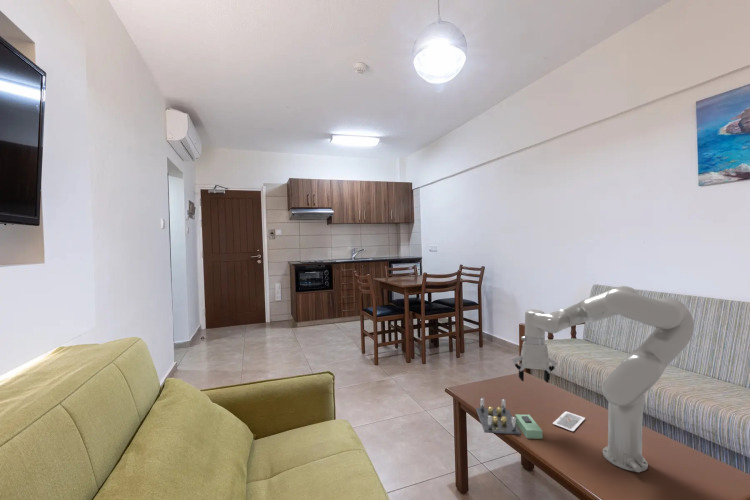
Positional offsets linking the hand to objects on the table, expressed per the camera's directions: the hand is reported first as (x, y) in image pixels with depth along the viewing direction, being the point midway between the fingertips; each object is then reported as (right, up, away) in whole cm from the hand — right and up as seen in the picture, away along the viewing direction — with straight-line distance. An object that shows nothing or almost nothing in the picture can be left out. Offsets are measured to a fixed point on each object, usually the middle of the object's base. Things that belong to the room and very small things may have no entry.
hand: (533, 380), depth 139 cm
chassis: (-14, -19, +3) cm, 24 cm away
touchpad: (+16, -19, +2) cm, 25 cm away
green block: (-4, -19, -4) cm, 20 cm away
